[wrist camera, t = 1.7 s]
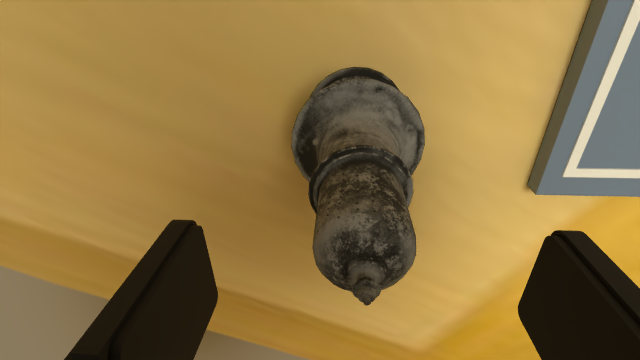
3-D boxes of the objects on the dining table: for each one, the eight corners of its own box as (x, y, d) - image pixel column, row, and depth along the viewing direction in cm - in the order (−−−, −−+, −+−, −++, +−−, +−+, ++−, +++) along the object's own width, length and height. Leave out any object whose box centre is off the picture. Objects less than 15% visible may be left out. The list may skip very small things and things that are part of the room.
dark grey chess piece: (434, 115, 17) (561, 307, 7) (355, 184, 20) (365, 399, 10) (354, 33, 16) (370, 134, 5) (278, 120, 18) (190, 301, 8)
